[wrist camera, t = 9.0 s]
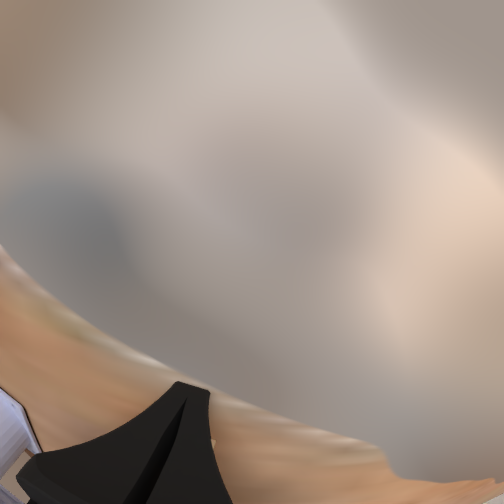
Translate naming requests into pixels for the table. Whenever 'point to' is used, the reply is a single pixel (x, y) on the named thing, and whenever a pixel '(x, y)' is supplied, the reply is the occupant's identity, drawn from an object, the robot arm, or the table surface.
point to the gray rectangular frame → (496, 500)
